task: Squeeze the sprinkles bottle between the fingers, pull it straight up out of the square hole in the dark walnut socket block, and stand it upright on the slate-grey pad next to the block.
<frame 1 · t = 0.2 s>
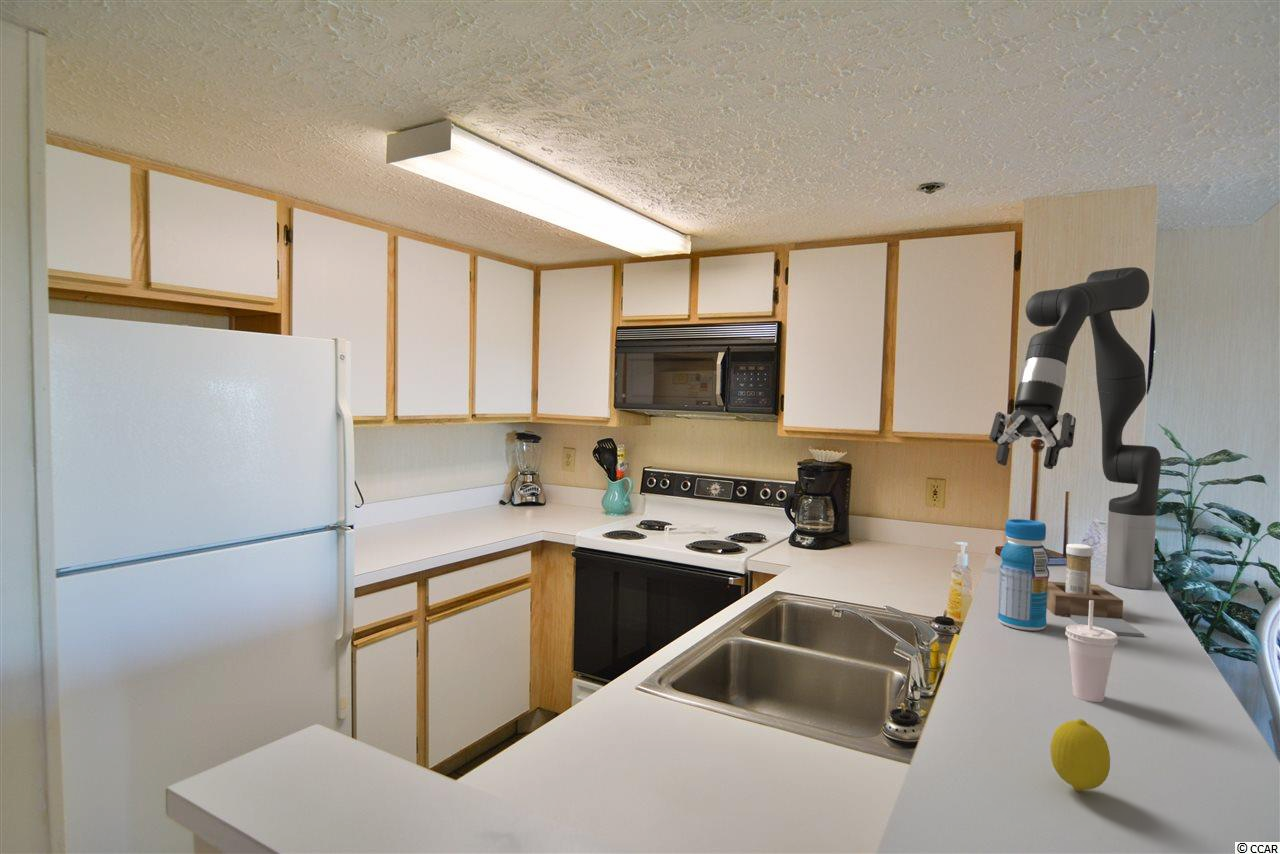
hand: (1024, 466, 130), 31 cm above the table, tool tilted 20°, fingers open, 8 cm apart
beverage bottle: (1021, 625, 133), on the table
lemon: (1078, 792, 76), on the table
sprinkles bottle: (1076, 610, 144), resting in walnut socket block
slate pad: (1105, 627, 132), on the table
walnut socket block: (1076, 609, 144), on the table
smoothie: (1088, 697, 101), on the table
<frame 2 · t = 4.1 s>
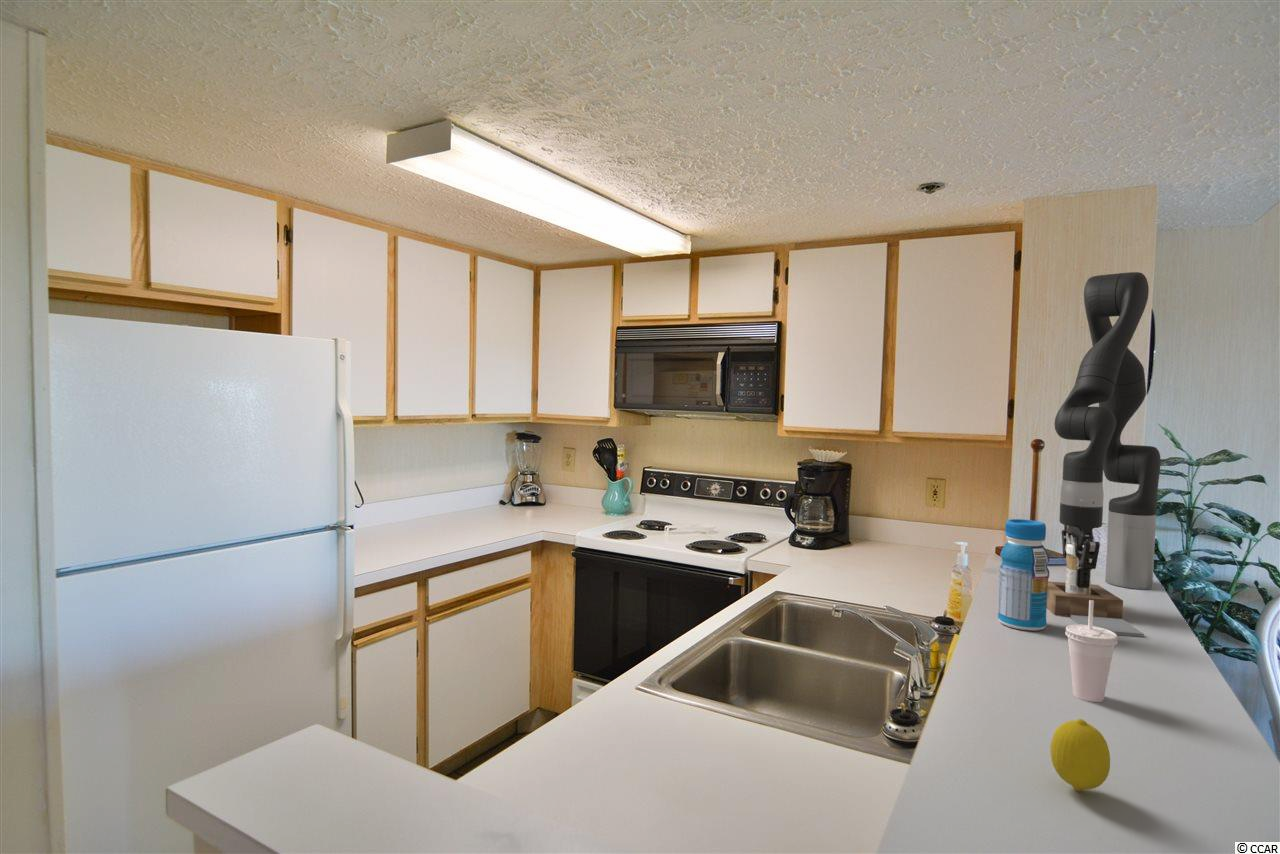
hand: (1077, 583, 144), 5 cm above the table, tool pointing down, fingers closed on sprinkles bottle, 4 cm apart
sprinkles bottle: (1076, 610, 144), resting in walnut socket block, touching gripper
everything else where it was.
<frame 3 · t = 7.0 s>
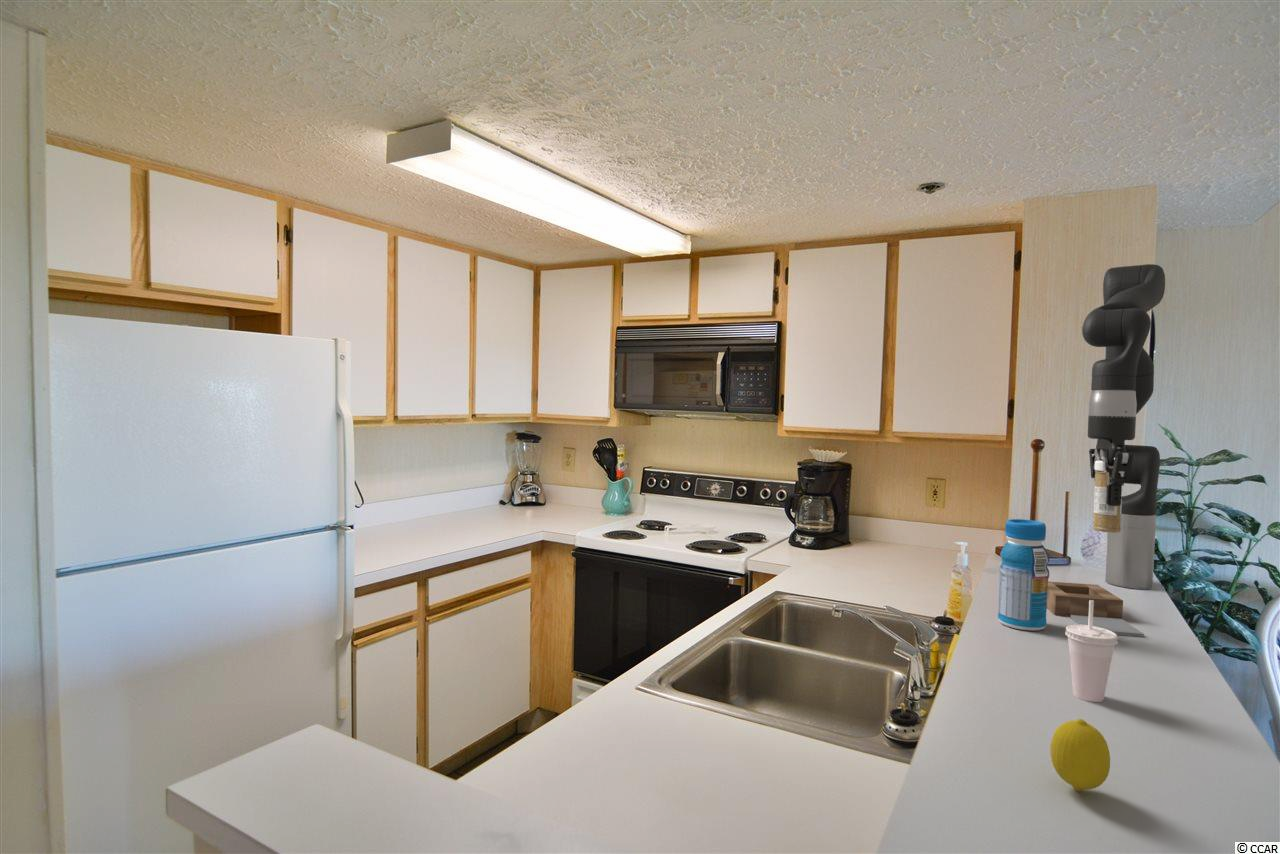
hand: (1107, 503, 132), 24 cm above the table, tool pointing down, fingers closed on sprinkles bottle, 4 cm apart
sprinkles bottle: (1106, 531, 132), point 18 cm above the table, touching gripper
everything else where it was.
when the fingers open (7 cm above the table, at t = 10.0 s): sprinkles bottle drops 1 cm, resting on slate pad.
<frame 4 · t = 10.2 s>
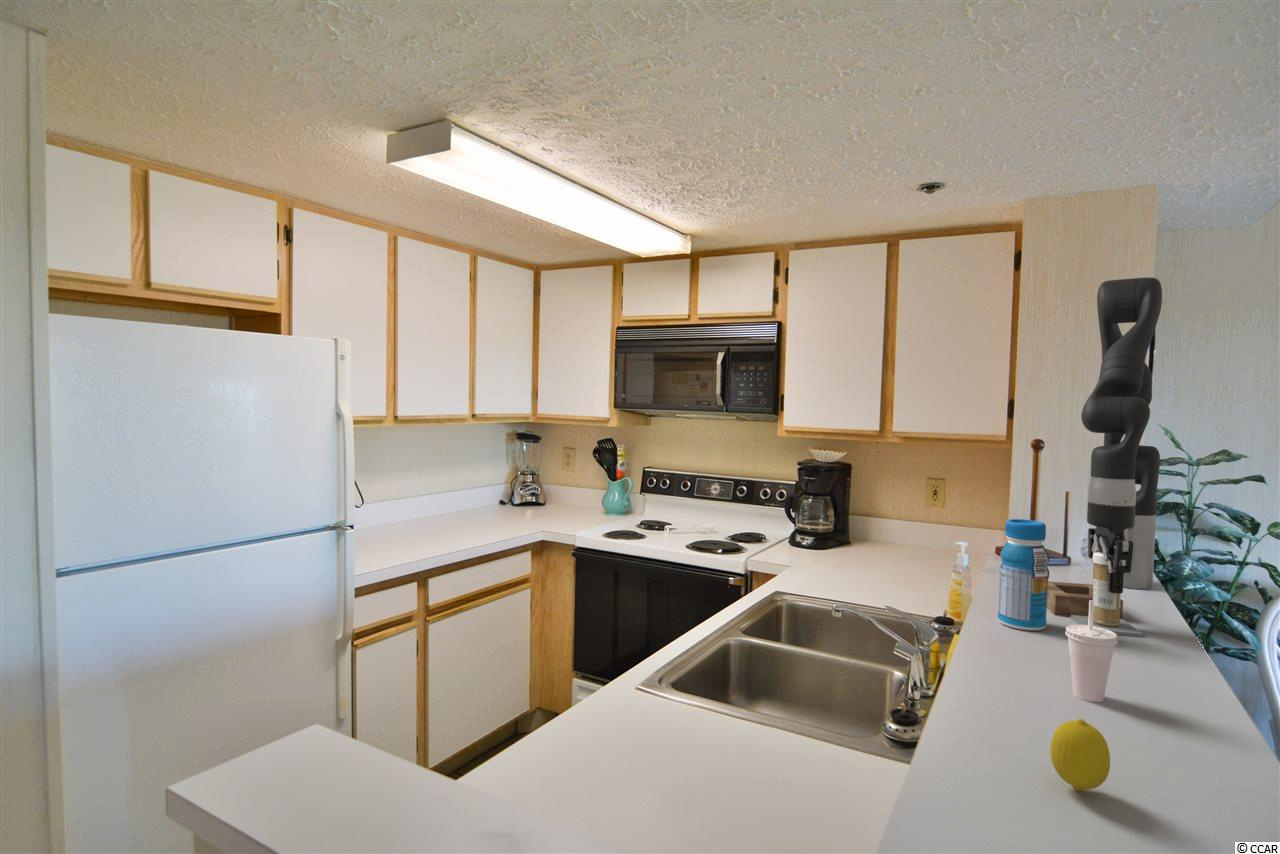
hand: (1107, 587, 132), 8 cm above the table, tool pointing down, fingers open, 6 cm apart
sprinkles bottle: (1105, 624, 132), resting on slate pad
everything else where it was.
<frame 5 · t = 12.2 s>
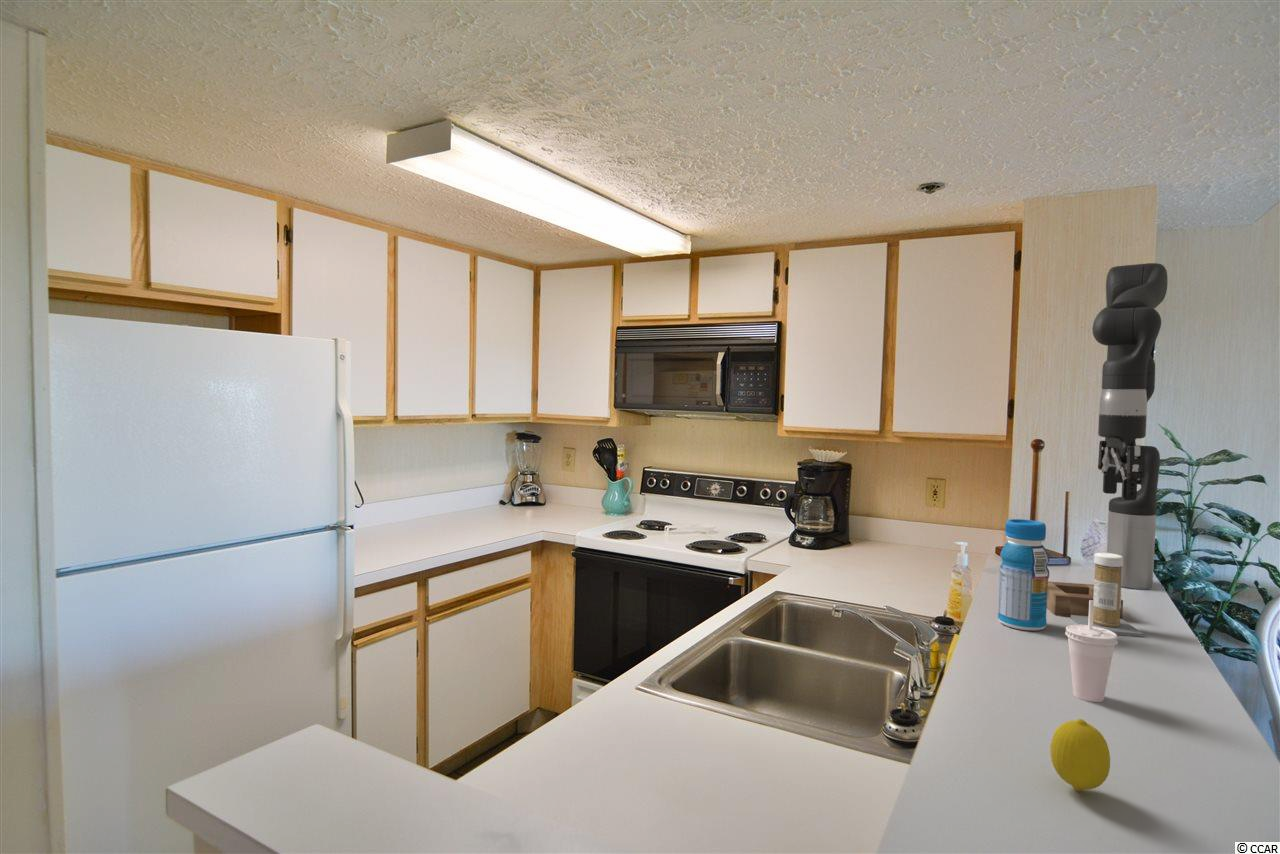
hand: (1118, 496, 133), 25 cm above the table, tool pointing down, fingers open, 8 cm apart
nothing on the table moved.
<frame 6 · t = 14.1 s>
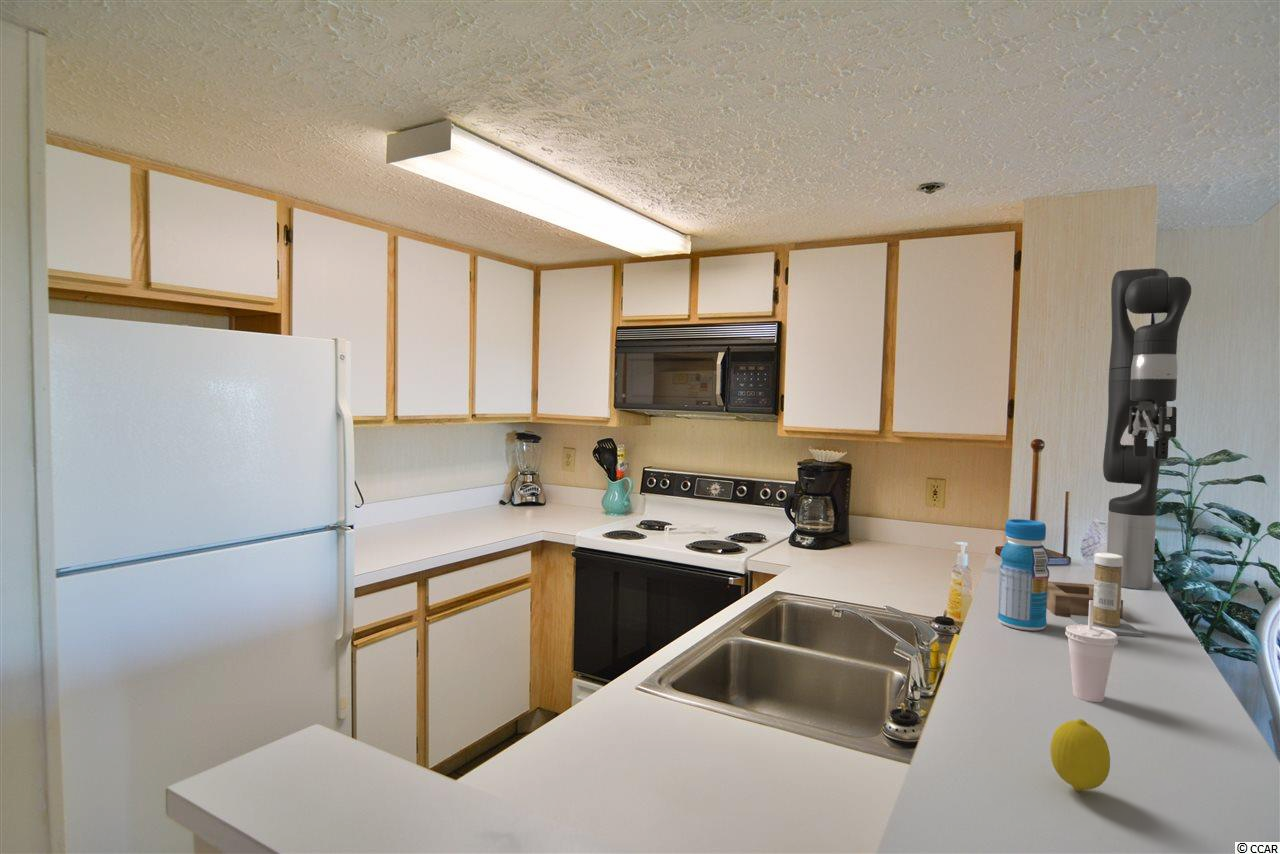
hand: (1149, 457, 140), 32 cm above the table, tool pointing down, fingers open, 8 cm apart
nothing on the table moved.
at the end: sprinkles bottle inside the target area on the slate pad (0.0 cm from its centre), point 0.4 cm above the slate pad's base; sprinkles bottle tilted 0°; the gripper is holding nothing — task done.
